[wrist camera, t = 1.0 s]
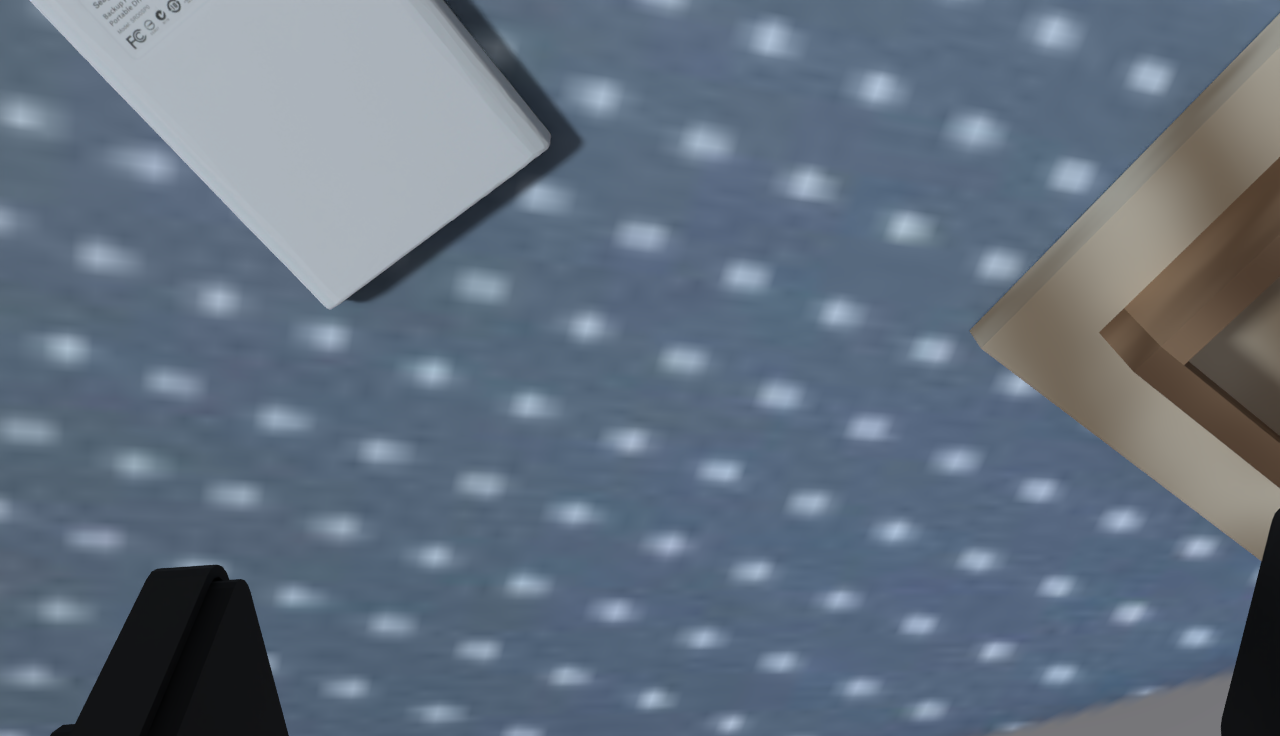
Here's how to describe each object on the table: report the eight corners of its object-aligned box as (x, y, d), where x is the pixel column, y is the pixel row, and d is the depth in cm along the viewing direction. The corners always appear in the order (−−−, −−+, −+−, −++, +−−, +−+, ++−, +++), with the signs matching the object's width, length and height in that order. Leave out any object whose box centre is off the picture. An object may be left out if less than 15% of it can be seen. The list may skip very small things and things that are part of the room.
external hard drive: (336, 291, 36) (0, -59, 31) (552, 129, 34) (231, -273, 29) (326, 314, 34) (-28, -49, 29) (552, 147, 32) (214, -274, 27)
